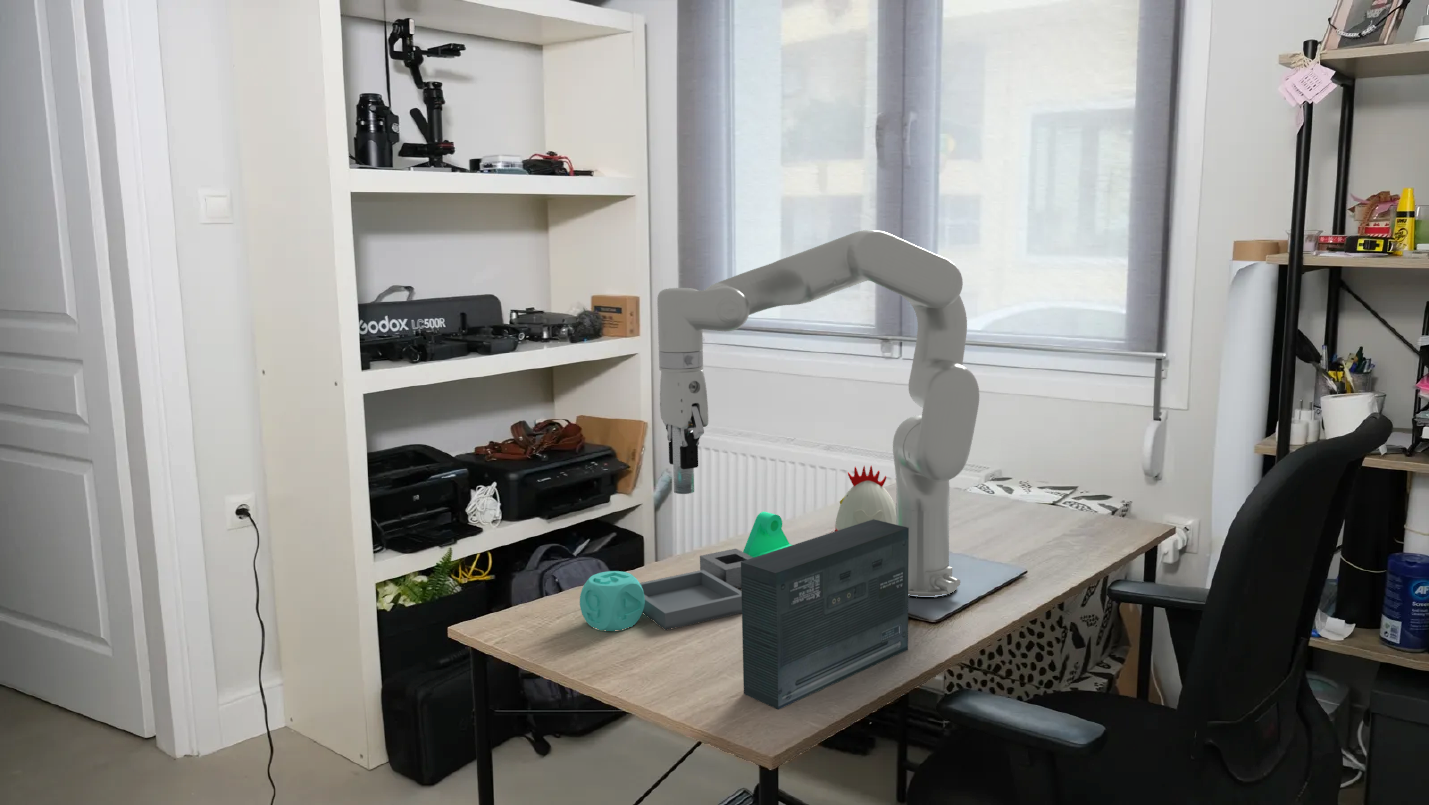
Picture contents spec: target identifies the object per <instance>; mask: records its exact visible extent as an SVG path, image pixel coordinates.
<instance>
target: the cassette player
mask: <svg viewBox="0 0 1429 805" xmlns="http://www.w3.org/2000/svg"><path fill="white" fill-rule="evenodd" d="M791 545H792V546H788V547H785V548H782V549H779V550H776V551H773V552H770V553H767V554H764V555H760V556H757V557H754V558H751V559H748V560H745V561H742V562H741V588H740V589H741V590H740V591H741V592H742V613H741V621H742V622H741V624H742V625H741V627H742V628H741V629H742V632H741V633H742V671H743V672H742V675H743V677H742V678H743V695H745V696H747V697H749V698H751V699H754V700H756V701H758V702H761V703H763V704H766V705H768V706H769V707H772V708H774V709H776V710H781V709H783V708H785V707H786V706H790V705H791V704H794V703H795V702H798V701H801V700H802V699H805V698H806V697H809V696H811V695H812V694H814V693H817V692H820V691H822V690H824V689H826V688H828V687H830V686H832V685H835V684H837V683H839V682H841V681H843V680H845V679H848V678H850V677H852V676H854V675H856V674H858V673H860V672H863V671H865V670H867V669H869V668H872V667H874V666H877V664H880V663H882V662H884V661H887V660H889V659H890V658H893V657H895V656H898V655H900V654H902V653H904V652H906V651H908V650H909V596H908V563H909V528H907V527H903V526H899V525H895V524H891V523H887V522H883V521H879V520H875V519H872V520H869V521H866V522H863V523H860V524H857V525H854V526H851V527H848V528H844V529H841V530H838V531H835V530H834V531H833V532H832V531H831V532H830V533H826V534H823V535H819V536H817V537H813V538H811V539H808V540H804V541H801V542H798V543H795V544H791Z"/></svg>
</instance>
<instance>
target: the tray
mask: <svg viewBox="0 0 1429 805" xmlns="http://www.w3.org/2000/svg"><path fill="white" fill-rule="evenodd" d="M639 583H640V584H641V586H642V589H643V592H644V597H645V604H644V609H643V612H642V613H644V614H645V615H646V616H648V617H649V618H650V619H652V620H654V621H655V622H656V623H657V624H658V626H659V625H660V626H661V627H660V626H659V627H660V628H662V627H663V628H664V629H665V630H664V629H663V628H662V629H663V630H664V631H668V630H667V629H670V630H672V629H671V628H674V629H676V628H675V627H679V628H682V626H683V627H686V626H690V624H691V625H695V623H696V624H699V623H698V622H700V623H704V622H707V621H708V620H709V621H712V620H711V619H713V620H717V619H720V618H726V617H730V616H733V615H738V614H742V592H741V590H740V589H739V588H737V589H736V588H735V587H733V586H731V585H729V584H728V583H726V582H724V581H722V580H720V579H719V578H717V577H715V576H713V575H712V574H710V573H708V572H706V571H705V570H700V569H699V570H697V571H696V570H695V571H691V572H686V573H681V574H676V575H672V576H668V577H666V576H665V577H661V578H657V579H653V580H648V581H643V582H639ZM645 615H644V616H645ZM646 616H645V617H646ZM648 617H647V618H648ZM649 618H648V619H649ZM650 619H649V620H650ZM652 620H651V621H652ZM703 621H704V622H703ZM709 621H708V622H709ZM655 622H654V623H655ZM656 623H655V624H656ZM657 624H656V625H657Z"/></svg>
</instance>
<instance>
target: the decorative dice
mask: <svg viewBox="0 0 1429 805" xmlns="http://www.w3.org/2000/svg"><path fill="white" fill-rule="evenodd" d="M640 583H641V582H640V581H639V580H638V578H636V577H635V576H634V575H633V574H632V573H629V572H627V571H622V570H621V571H619V570H610V571H609V570H607V571H602V572H598V573H596V574H595V573H594V574H593V575H591V576H590V577H589V578H588V579H587V580H586V582H585V583H584V584H583V586H582V589H581V591H580V595H579V608H580V612H581V614H582V617H583V618H584V620H585V622H586V623H587V624H588V625H589V626H590V627H591V628H592V627H594V628H597V629H599V630H606V631H614V632H616V631H615V630H621V631H623V630H622V629H625V628H628V627H631V628H632V627H634V626H633V625H636V623H638V622H639V621H640V618H641V616H642V615H643V614H642V612H643V609H644V604H645V597H644V592H643V589H642V586H641V584H640ZM594 628H593V629H594ZM628 629H629V628H628ZM599 630H598V631H599ZM625 630H626V629H625ZM606 631H605V632H606Z"/></svg>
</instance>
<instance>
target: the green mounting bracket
mask: <svg viewBox="0 0 1429 805" xmlns="http://www.w3.org/2000/svg"><path fill="white" fill-rule="evenodd" d="M782 528H783V520H782V517H781V516H779V514H775V513H771V512H768V511H761V512H760V513H758V514H757V516H756V518H755V520H754V523H753V524H752V528H751V530H750V533H749V536H748V539H747V541H746V542H745V545H744V548H743V551H742V552H744V553H746V554H748V555H750V556H752V557H757V556H760V555H764V554H767V553H770V552H773V551H776V550H779V549H782V548H785V547H788V546H792V545H793V544H791V543H790V542H789V540H788V539H787V536H786V534H785V533H784V531H783V529H782Z"/></svg>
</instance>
